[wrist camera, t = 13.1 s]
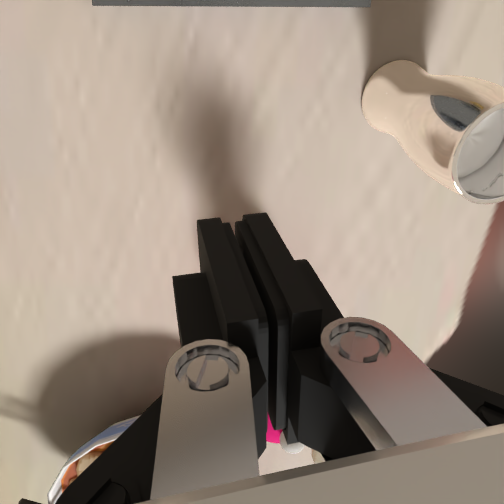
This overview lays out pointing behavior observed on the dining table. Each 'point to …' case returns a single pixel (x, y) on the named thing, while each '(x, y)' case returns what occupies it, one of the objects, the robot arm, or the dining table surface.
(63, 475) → the ramen bowl
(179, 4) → the base plate
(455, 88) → the beer glass
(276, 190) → the dining table surface
